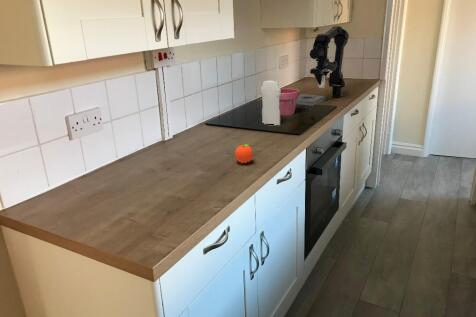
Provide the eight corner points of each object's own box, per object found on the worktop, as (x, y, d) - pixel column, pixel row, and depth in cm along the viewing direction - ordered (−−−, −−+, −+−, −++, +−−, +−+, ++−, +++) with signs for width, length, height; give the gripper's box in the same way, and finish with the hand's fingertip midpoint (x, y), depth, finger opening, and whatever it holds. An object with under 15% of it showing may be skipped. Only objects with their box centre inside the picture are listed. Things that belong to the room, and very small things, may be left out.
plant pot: (286, 109, 230) (286, 87, 225) (304, 113, 219) (304, 90, 214) (267, 113, 222) (267, 90, 217) (284, 118, 211) (284, 94, 207)
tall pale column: (282, 124, 201) (282, 80, 193) (279, 126, 197) (278, 81, 190) (263, 122, 206) (262, 79, 198) (259, 124, 202) (258, 80, 194)
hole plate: (302, 97, 256) (302, 93, 255) (325, 100, 246) (325, 96, 245) (289, 102, 244) (289, 98, 243) (312, 105, 235) (312, 101, 234)
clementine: (244, 157, 158) (244, 140, 156) (258, 160, 154) (258, 143, 152) (231, 163, 153) (230, 145, 150) (246, 167, 148) (245, 149, 146)
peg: (319, 86, 239) (320, 74, 236) (326, 86, 237) (326, 75, 234) (316, 87, 236) (317, 75, 233) (323, 88, 234) (323, 76, 231)
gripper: (328, 59, 219) (327, 88, 224) (342, 55, 232) (340, 82, 238) (309, 58, 225) (309, 86, 230) (324, 55, 239) (323, 81, 244)
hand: (321, 84), depth 236 cm, fingers closed on peg, 4 cm apart
